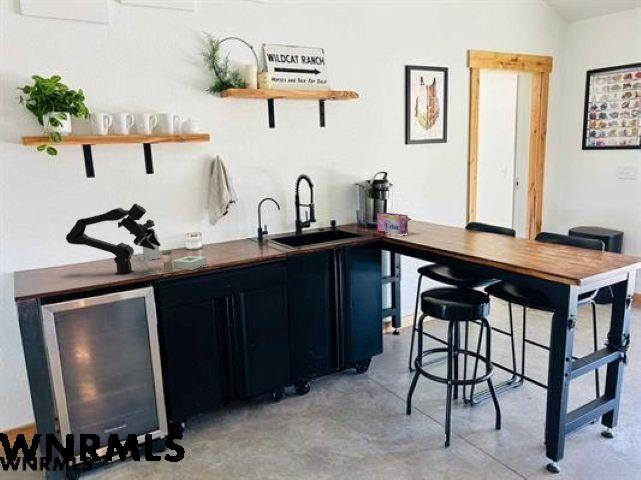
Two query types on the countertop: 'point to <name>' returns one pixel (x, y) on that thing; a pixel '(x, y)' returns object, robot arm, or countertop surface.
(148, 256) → the skincare box
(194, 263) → the socket block
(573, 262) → the countertop surface
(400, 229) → the gum box
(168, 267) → the peg
